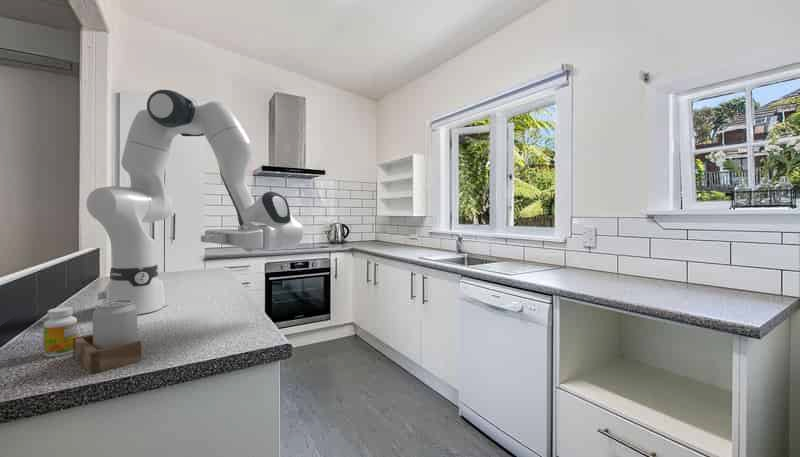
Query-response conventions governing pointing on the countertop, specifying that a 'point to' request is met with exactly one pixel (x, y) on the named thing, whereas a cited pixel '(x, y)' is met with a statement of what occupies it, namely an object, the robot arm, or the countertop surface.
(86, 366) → the corral
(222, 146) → the robot arm
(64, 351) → the supplement bottle
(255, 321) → the countertop surface
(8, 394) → the countertop surface
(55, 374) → the countertop surface
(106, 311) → the can
